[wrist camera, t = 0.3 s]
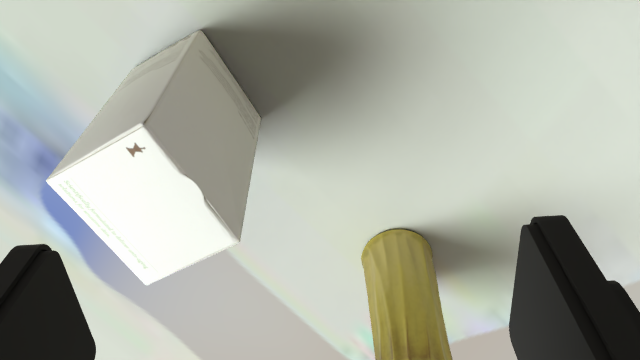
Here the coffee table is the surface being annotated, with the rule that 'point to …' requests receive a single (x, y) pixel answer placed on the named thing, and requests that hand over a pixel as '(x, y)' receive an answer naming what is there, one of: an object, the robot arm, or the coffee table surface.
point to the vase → (404, 298)
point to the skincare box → (166, 162)
